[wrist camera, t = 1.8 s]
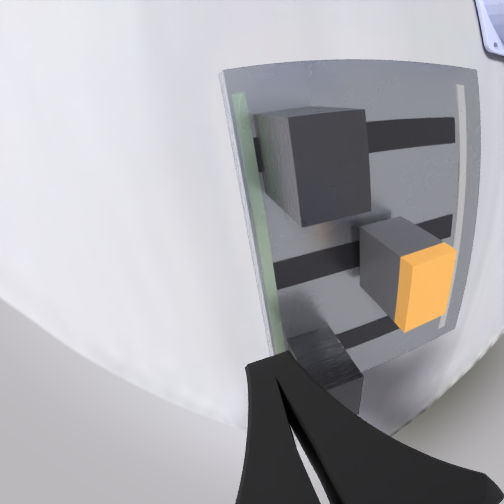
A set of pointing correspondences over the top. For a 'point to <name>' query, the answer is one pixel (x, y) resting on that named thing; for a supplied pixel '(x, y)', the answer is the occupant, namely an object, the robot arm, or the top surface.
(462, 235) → the panel
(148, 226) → the top surface
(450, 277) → the toggle
